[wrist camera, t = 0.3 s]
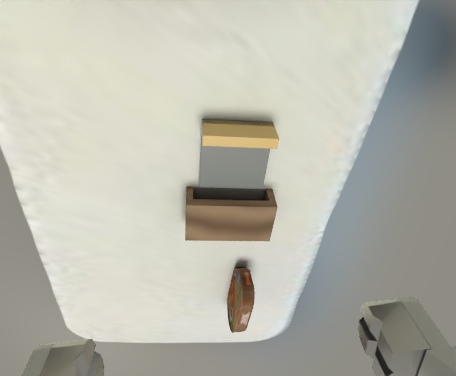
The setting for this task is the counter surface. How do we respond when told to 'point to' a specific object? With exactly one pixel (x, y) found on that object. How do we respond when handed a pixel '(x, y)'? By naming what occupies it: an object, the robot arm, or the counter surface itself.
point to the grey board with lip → (235, 153)
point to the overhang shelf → (229, 218)
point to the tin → (240, 299)
